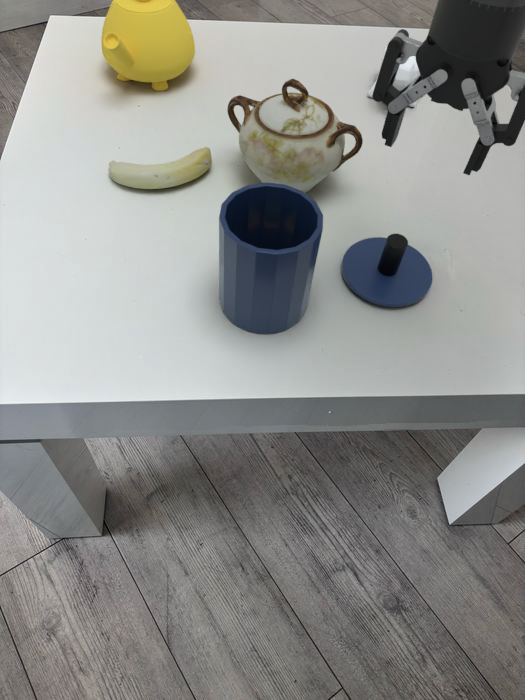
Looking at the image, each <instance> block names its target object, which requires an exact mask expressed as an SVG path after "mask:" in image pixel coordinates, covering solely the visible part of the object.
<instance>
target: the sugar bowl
mask: <svg viewBox="0 0 525 700" xmlns="http://www.w3.org/2000/svg"><path fill="white" fill-rule="evenodd" d="M288 88H293V89H295V90H297V91H299V93H298V92H288ZM236 106H239V107H241V108H242V110H243V121H242V123H241V122H240V121H239V119H238V118H237V116H236V113H235V107H236ZM250 107H253V108H252V109H251V108H250ZM226 111H227V115H228V118H229V120H230V122H231V125H233V127H234V128H235V129H236V131H237V132H238V147H239V150H240V153H241V156H242V158H243V160H244V162H245V163H246V165H247V167H248V168H249V169H250V171H251V172H252V173H253V174H254V175H255V176H256V177H257V179H258V180H259V181H260V183H266V182H267V183H277V184H285V185H288V186H290V187H293V188H295V189H298V190H301V191H302V192H304V193H306V194H307V192H309V191H311V190H312V189H313V188H314V187H315V186H316V185H318V184H319V183H320V182H322V181H323V180H324V179H325V178H327V176H329V175H330V174H331V173H333V172H335V171H337V170H338V169H340V167H342V165H343V164H344V163H346V162H347V161H348V160H351V159H352V158H354V156H355V155H357V154H358V153H359V152H360V150H361V148H362V147H363V141H364V140H363V136H362V133H361V131H360V130H359V129H358V128H357V126H355V125H353V124H350V123H345V122H342V121H340V119H339V118H338V116H337V114H335V113H334V111H333V110H332V108H331V106H329V104H327V103H326V102H325V101H323V100H322V99H320V98H317V97H315V96H313V95H309V91H308V89H307V88H306V87H305V85H304V84H302V83H301V81H299V80H297V79H295V78H291V79H288V80H286V81H285V82H284V83H283V84H282V87H281V93H276V94H273V95H271V96H268V97H266V98H264V99H262V100H261V101H259V100H256V99H252V98H250V97H246V96H244V95H241V94H240V95H236V96H234V97H232V98H231V99H230V100H229V102H228V104H227V110H226ZM345 134H348V135H351V136H353V137H354V140H355V145H354V147H353V148H352V149H351V150H350V151H349V152H347V153H346V154H344V152H345V147H346V135H345Z"/></svg>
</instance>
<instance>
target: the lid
mask: <svg viewBox="0 0 525 700" xmlns="http://www.w3.org/2000/svg"><path fill="white" fill-rule="evenodd" d="M432 271H433V270H432V267H431V265H430V264H429V262H428V259H426V257H425V256H424V255H423V254H422V252H420V251H419V250H418V249H416V248H414V247H413V246H411V245H410V244H409V240H408V238H407V237H405V235H403V234H400V233H391V234H389V235H388V236H387V237H382V236H378V237H377V236H376V237H367V238H364V239H361V240H359V241H357V242H355V243H353V244H352V245H350V247H348V248H347V250H346V251H345V253H344V255H343V258H342V261H341V274H342V277H343V279H344V281H345V283H346V284H347V286H348V287H349V288H350V289H351V291H353V292H354V293H355V295H357V296H359V297H360V298H361V299H363V300H365V301H367V302H369V303H372V304H374V305H377V306H382V307H387V308H402V307H407V306H411V305H413V304H416V303H418V302H419V301H420V300H423V298H425V296H426V295H427V294H428V292H429V291H430V290H431V287H432V284H433V272H432Z"/></svg>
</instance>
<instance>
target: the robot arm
mask: <svg viewBox="0 0 525 700" xmlns="http://www.w3.org/2000/svg"><path fill="white" fill-rule="evenodd" d="M435 6H436V7H435V9H434V13H433V16H432V20H431V24H430V25H429V30H428V33H427V36H426V38H425V39H424V40H423V41H421V40H420V41H419V40H418V39H415V38H412V37H410V34H409V31H408V30H406V29H404V28H402V29H401V28H400V29H399V30H397V32H396V33H395V35H394V36H393V37H392V38H391V39H390V40H389V42H388V43H387V46H386V47H387V49H386V53H385V56H384V59H383V58H382V60H383V62H382V61H381V64H382V66H381V65H380V68H381V69H380V68H379V70H380V72H379V71H378V74H379V75H378V74H377V77H378V78H377V77H376V78H377V79H376V80H377V82H376V81H375V82H376V85H375V88H374V91H373V98H372V99H373V100H374V101H375V102H377V103H380V102H381V103H382V104H384V105H385V107H386V109H387V112H386V116H385V118H384V119H385V120H384V123H383V127H382V131H381V138H382V139H383V140H385V141H384V146H386V147H389V148H392V147H393V145H394V144H395V142H396V141H397V140H398V139H397V138H398V136H399V133H400V130H401V126H402V123H403V120H404V117H405V114H406V109H407V107H409V104H412V103H414V102H416V103H417V101H419V100H420V99H421V98H423V97H424V96H426V95H427V96H428V97H429V98H431V99H430V102H433V103H436V104H441V105H442V104H443V105H448V106H449V107H451V108H452V109H454V110H458V111H460V112H463V111H464V110H468V111H469V113H470V116H471V117H470V118H471V119H472V120H471V121H472V123H473V125H474V126H476V129H477V134H478V135H479V137H478V139H477V140H476V143H475V145H474V148H473V150H472V152H471V154H470V156H469V159H468V161H467V163H466V165H465V167H464V170H463V172H462V174H464V175H467V176H471V173H472V172H475V173H477V172H479V171H480V170H481V169H482V166H483V164H484V163H485V160H486V158H487V157H488V154H489V152H490V149H491V148H492V146H494V145H496V144H502V145H504V146H506V147H512V146H513V145H515V144H516V143H517V140H518V138H519V135H520V132H521V131H522V129H523V126H524V124H525V72H523V71H518V70H513V67H512V66H513V65H512V64H513V63H512V62H513V58H514V55H515V53H516V51H517V48H518V46H519V44H520V41H521V39H522V37H523V35H524V33H525V0H437V4H436V5H435ZM411 56H416V63H417V66H418V69H419V72H420V75H419V76H417V77H416V78H415V79H414V80H413V81H412V82H411V83H409V84H408V85H407V86H405V87H404V88H402V89H401V90H400V91H399V90H398V89H397V88H395V87H394V86H393V83H394V80H395V77H396V74H397V71H398V68H399V65H400V64H404V63H405V62H406V61H407V60H408V59H409V57H411ZM506 86H508V88H510V90H511V91H510V98H511V100H512V101H514V102H516V104H515V106H514V109H513V110H512V111H513V112H512V114H511V117H510V119H509V121H508V123H500V120H499V116H498V113H497V110H496V109H497V104H496V99H495V96H494V95H495V94H496V93H498V92H499V91H501V90H502V89H504V88H505V87H506Z"/></svg>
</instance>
